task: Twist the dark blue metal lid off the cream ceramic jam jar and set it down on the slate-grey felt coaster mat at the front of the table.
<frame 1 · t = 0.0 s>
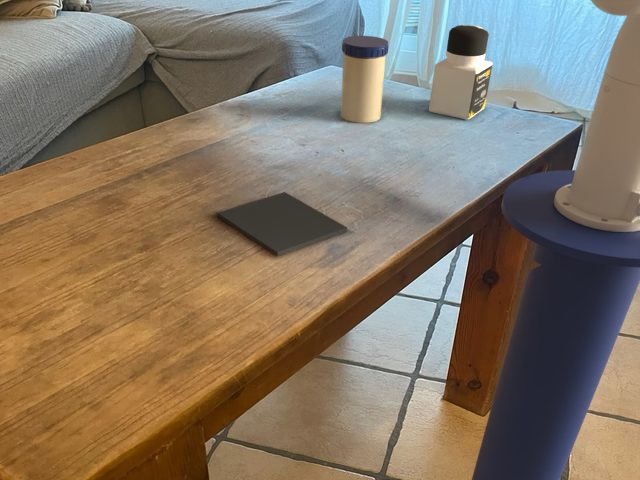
mat: (281, 223, 77), on the table
lid: (365, 43, 99), point 10 cm above the table, screwed on, not yet turned
jar: (360, 116, 106), on the table
medicine bottle: (456, 111, 109), on the table
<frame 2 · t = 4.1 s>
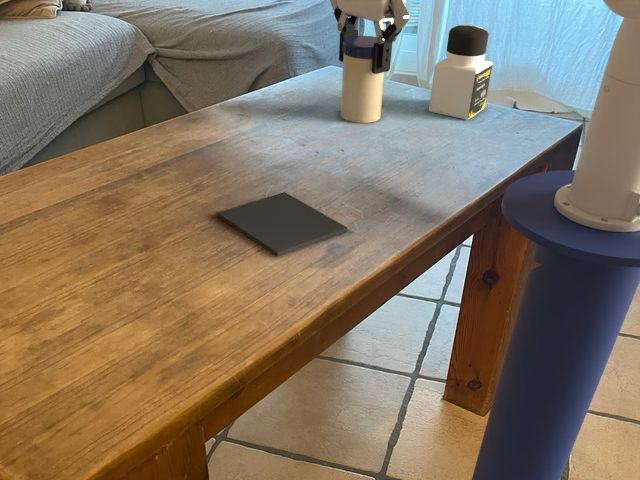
hand: (363, 65, 101), 7 cm above the table, tool pointing down, fingers closed on lid, 6 cm apart
lid: (365, 43, 99), point 10 cm above the table, screwed on, not yet turned, touching gripper
everything else where it was.
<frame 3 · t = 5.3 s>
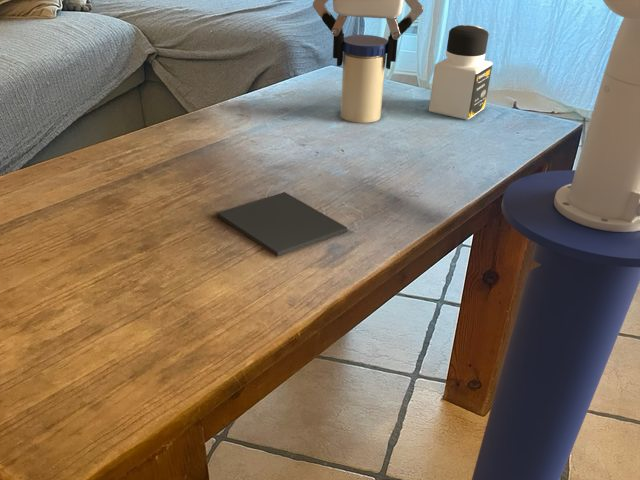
hand: (364, 64, 101), 7 cm above the table, tool pointing down, fingers closed on lid, 6 cm apart
lid: (365, 42, 99), point 10 cm above the table, turned 45° so far, risen 0.1 cm, still on its thread, touching gripper
everything else where it was.
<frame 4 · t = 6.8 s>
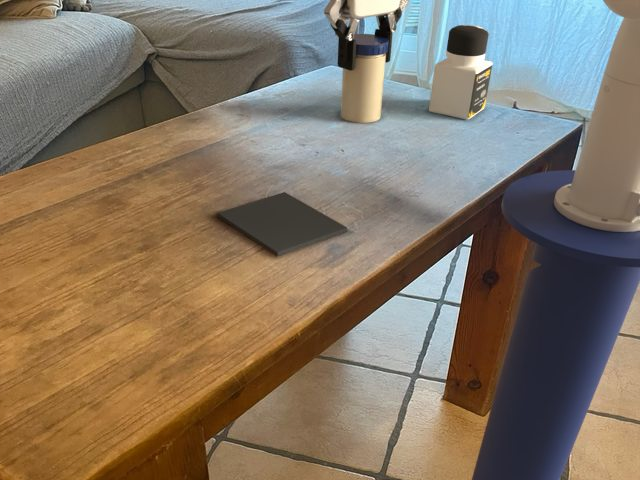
hand: (364, 63, 101), 8 cm above the table, tool pointing down, fingers closed on lid, 6 cm apart
lid: (365, 41, 99), point 11 cm above the table, turned 92° so far, risen 0.2 cm, still on its thread, touching gripper
everything else where it was.
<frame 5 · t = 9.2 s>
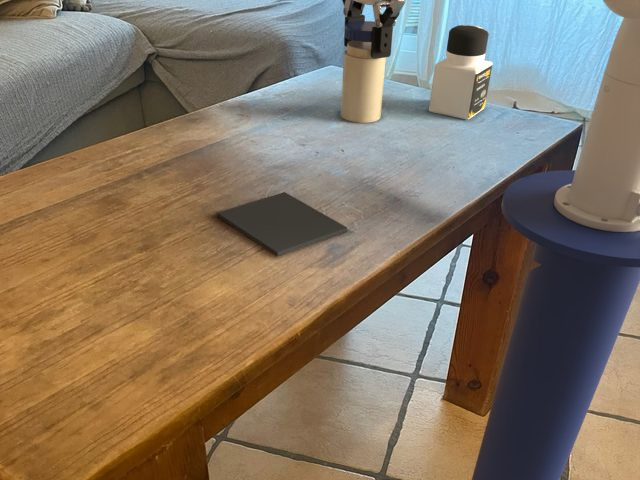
hand: (366, 50, 99), 9 cm above the table, tool pointing down, fingers closed on lid, 6 cm apart
lid: (368, 28, 97), point 12 cm above the table, off its thread, touching gripper
everything else where it was.
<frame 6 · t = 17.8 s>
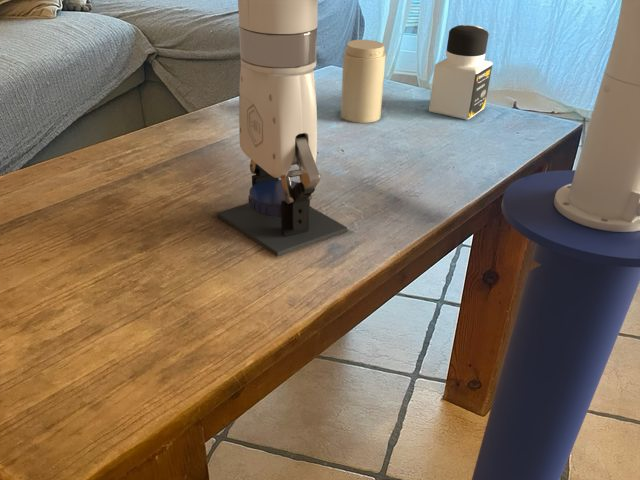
hand: (280, 218, 77), 1 cm above the table, tool pointing down, fingers closed on lid, 6 cm apart
lid: (279, 194, 75), point 4 cm above the table, off its thread, touching gripper
everything else where it was.
when the fingers open (1 cm above the table, at t = 23.8 s): lid drops 2 cm, resting on mat.
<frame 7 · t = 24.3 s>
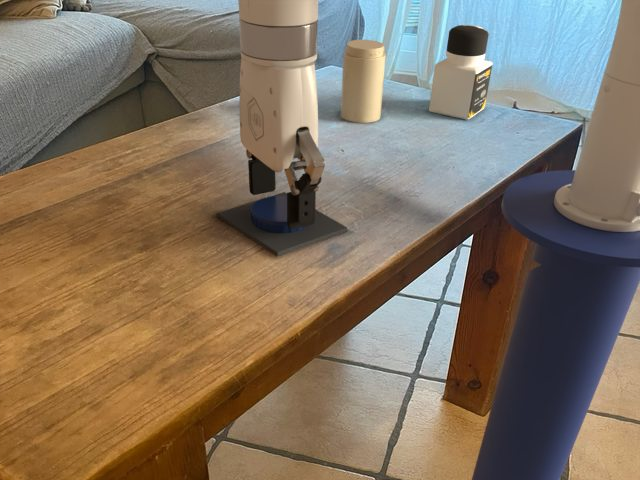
hand: (281, 208, 76), 2 cm above the table, tool pointing down, fingers open, 9 cm apart
lid: (280, 210, 76), point 2 cm above the table, off its thread, touching mat
everything else where it was.
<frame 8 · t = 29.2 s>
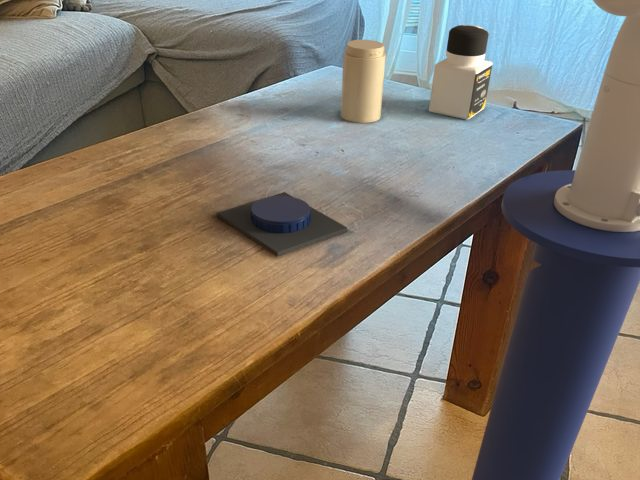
nothing on the table moved.
at the end: lid came off its thread; lid inside the target area on the mat (0.0 cm from its centre), point 1.6 cm above the mat's base; the gripper is holding nothing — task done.
